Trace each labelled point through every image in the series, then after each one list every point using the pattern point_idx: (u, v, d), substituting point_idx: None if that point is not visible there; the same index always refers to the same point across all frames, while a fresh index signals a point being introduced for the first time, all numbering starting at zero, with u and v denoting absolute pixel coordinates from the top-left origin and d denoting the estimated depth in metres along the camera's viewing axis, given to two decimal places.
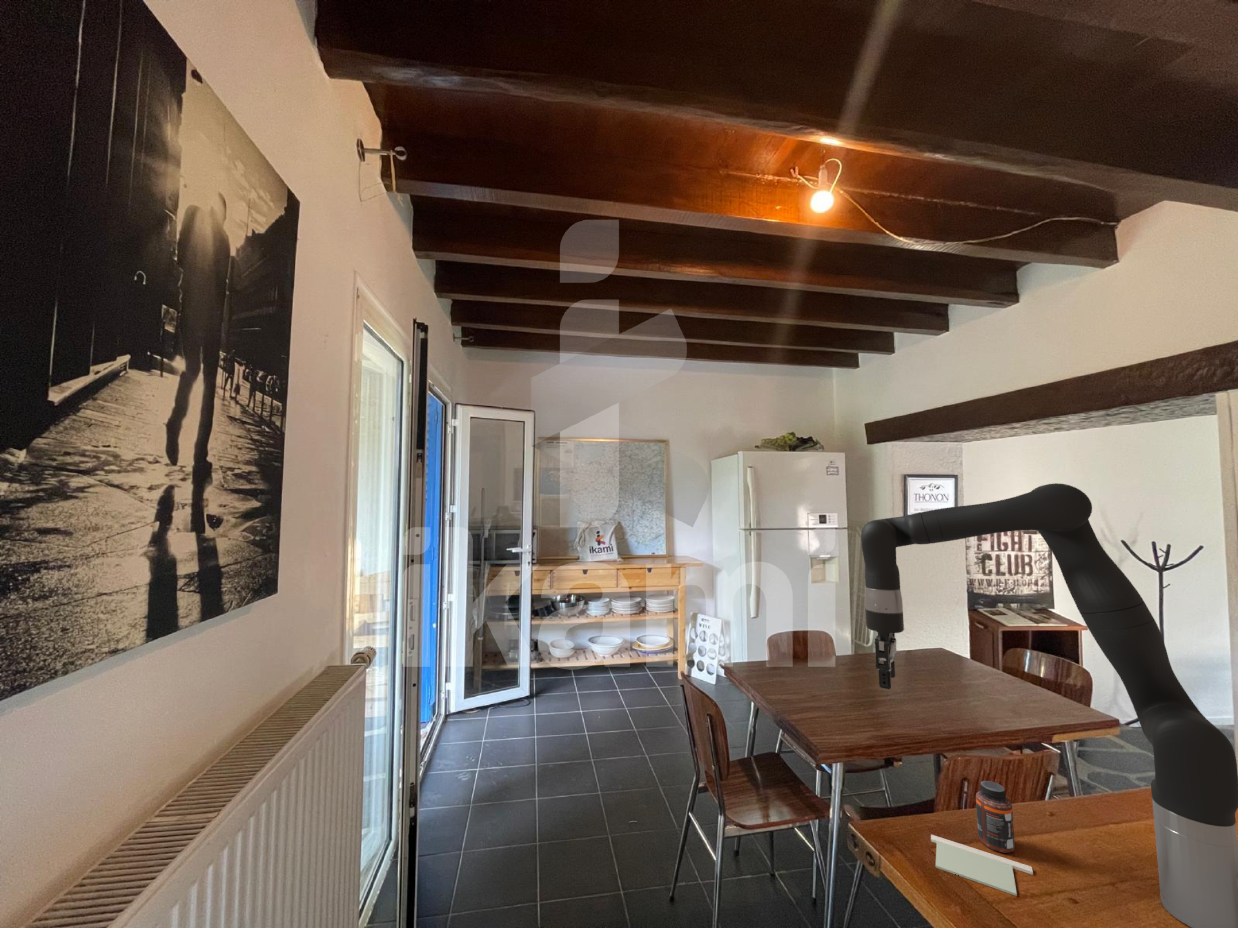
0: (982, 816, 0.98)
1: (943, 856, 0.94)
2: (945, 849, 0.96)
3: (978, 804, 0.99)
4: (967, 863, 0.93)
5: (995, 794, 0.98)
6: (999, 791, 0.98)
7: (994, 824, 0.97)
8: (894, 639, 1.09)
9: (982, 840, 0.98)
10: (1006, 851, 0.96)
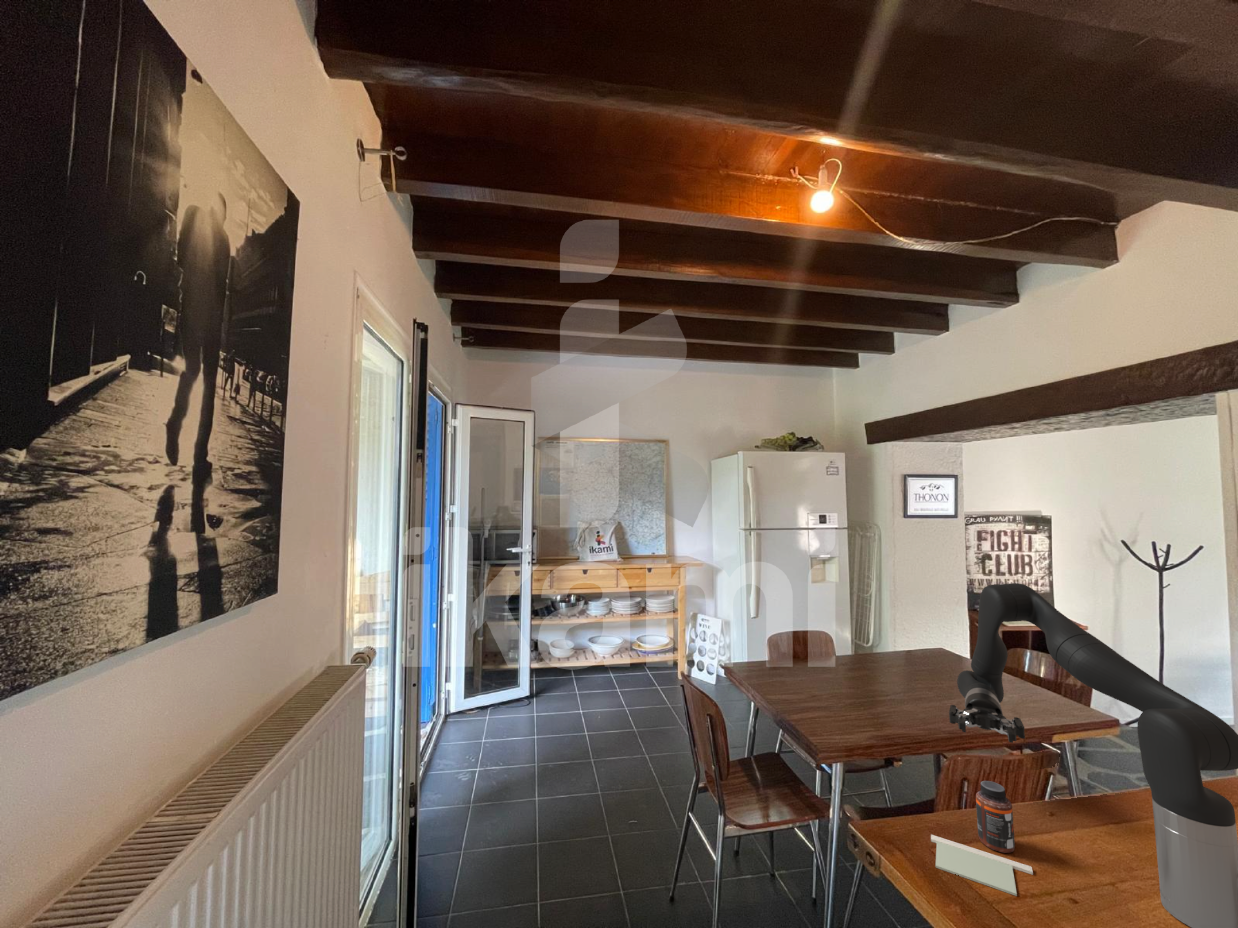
0: (982, 816, 0.98)
1: (943, 856, 0.94)
2: (945, 849, 0.96)
3: (978, 804, 0.99)
4: (967, 863, 0.93)
5: (995, 794, 0.98)
6: (999, 791, 0.98)
7: (994, 824, 0.97)
8: None
9: (982, 840, 0.98)
10: (1006, 851, 0.96)
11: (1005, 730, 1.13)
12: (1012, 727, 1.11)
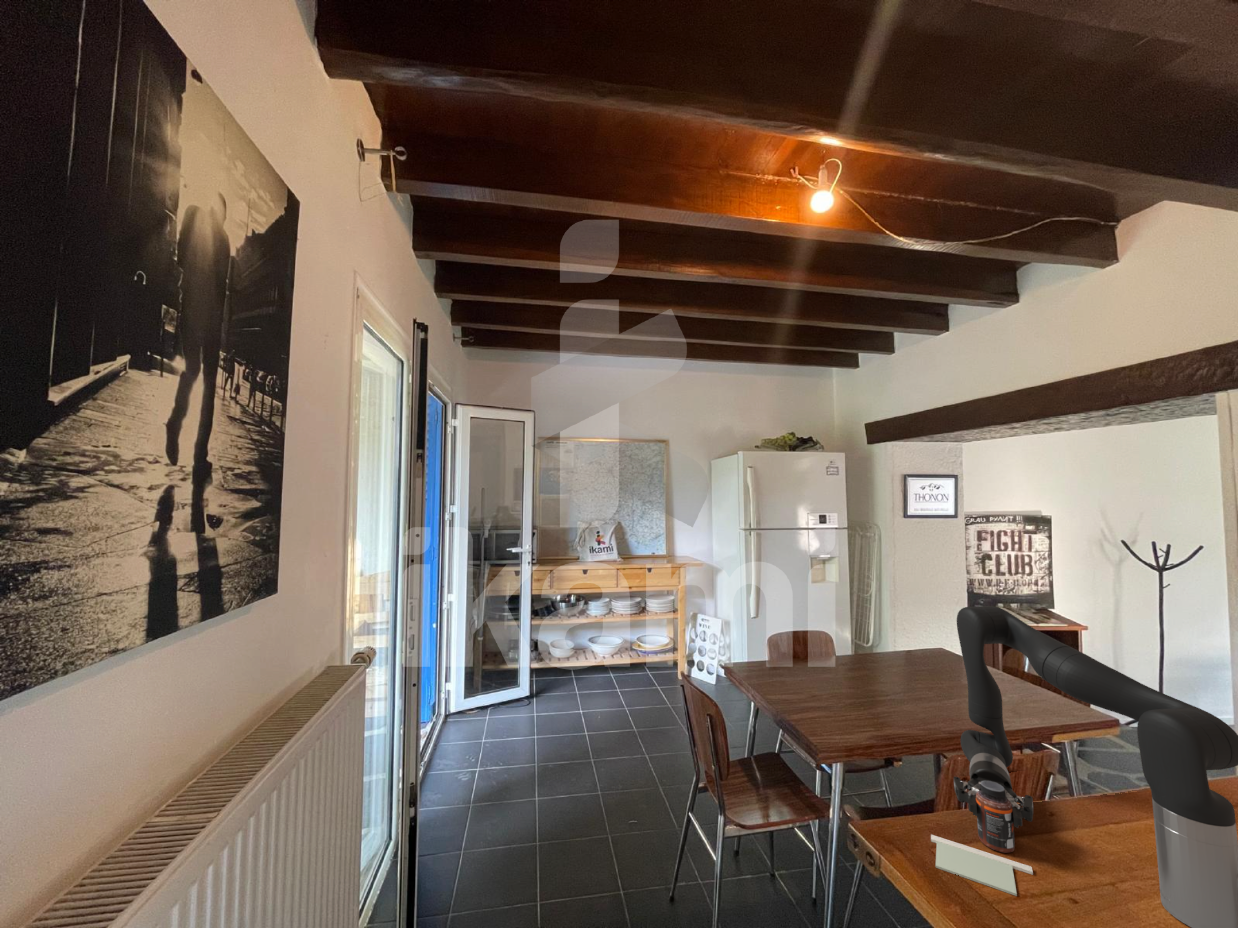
0: (982, 816, 0.98)
1: (943, 856, 0.94)
2: (945, 849, 0.96)
3: (978, 804, 0.99)
4: (967, 863, 0.93)
5: (995, 793, 0.98)
6: (999, 791, 0.98)
7: (994, 824, 0.97)
8: None
9: (982, 840, 0.98)
10: (1006, 851, 0.96)
11: None
12: (1017, 808, 0.98)
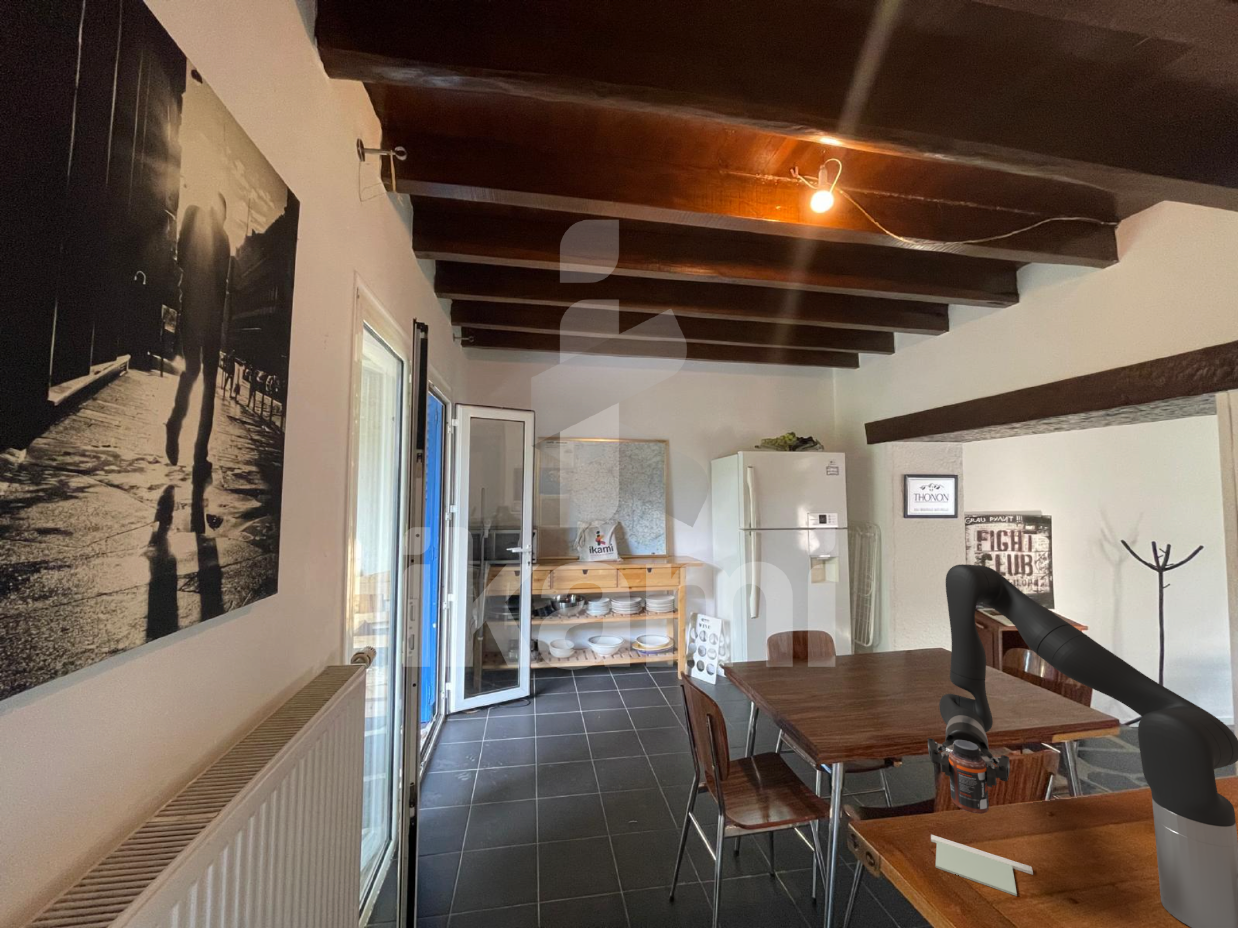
0: (954, 776, 0.93)
1: (943, 856, 0.94)
2: (945, 849, 0.96)
3: (951, 764, 0.94)
4: (967, 863, 0.93)
5: (968, 752, 0.92)
6: (972, 749, 0.92)
7: (967, 784, 0.91)
8: None
9: (955, 801, 0.93)
10: (979, 812, 0.90)
11: None
12: (992, 767, 0.93)
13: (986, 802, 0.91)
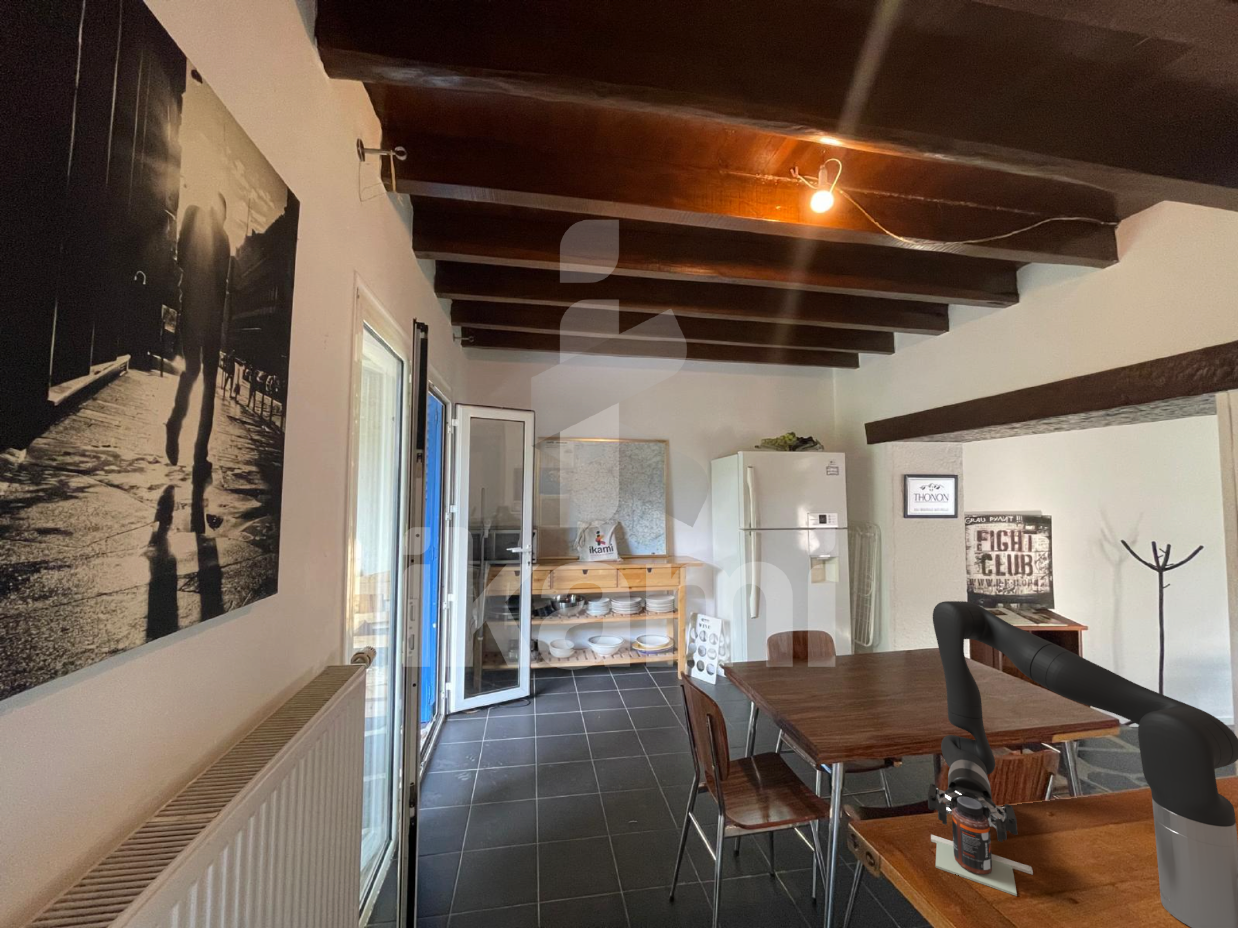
0: (958, 834, 0.92)
1: (943, 856, 0.94)
2: (945, 849, 0.96)
3: (954, 822, 0.93)
4: None
5: (971, 811, 0.91)
6: (976, 808, 0.91)
7: (971, 844, 0.90)
8: None
9: (958, 860, 0.92)
10: (983, 873, 0.89)
11: (994, 822, 0.94)
12: (1002, 820, 0.92)
13: (989, 863, 0.90)
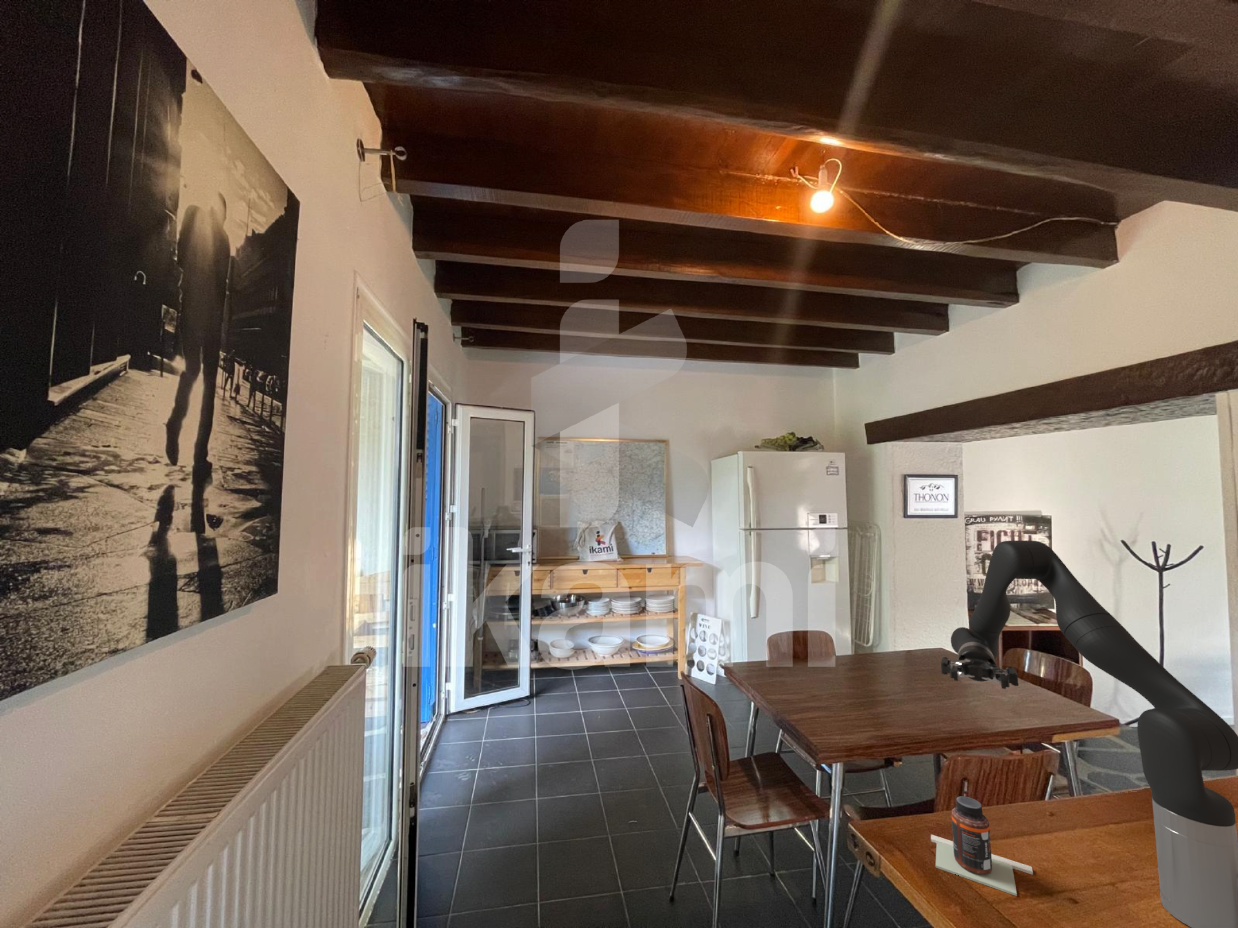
0: (957, 834, 0.92)
1: (943, 856, 0.94)
2: (945, 849, 0.96)
3: (954, 822, 0.93)
4: None
5: (971, 811, 0.92)
6: (975, 808, 0.92)
7: (971, 843, 0.90)
8: None
9: (958, 860, 0.92)
10: (983, 872, 0.90)
11: (998, 679, 1.10)
12: (1005, 674, 1.08)
13: (989, 862, 0.90)
